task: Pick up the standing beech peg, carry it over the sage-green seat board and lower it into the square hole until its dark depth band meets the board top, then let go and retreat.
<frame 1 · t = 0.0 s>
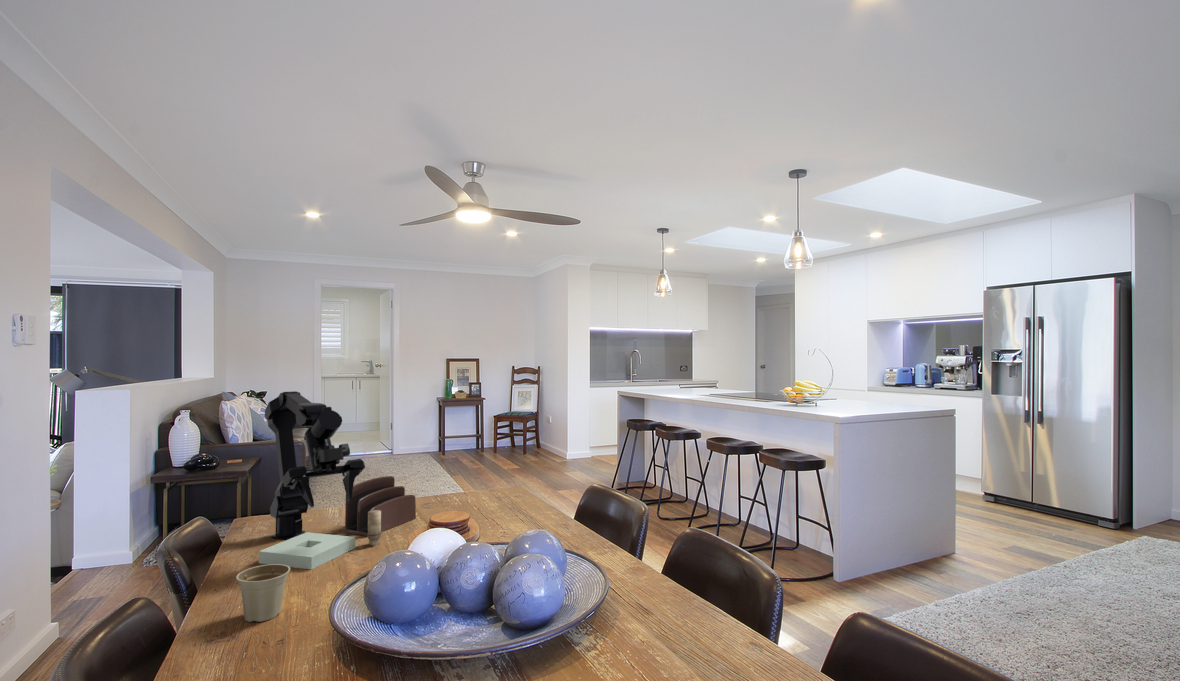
hand: (331, 503, 142), 15 cm above the table, tool tilted 35°, fingers open, 9 cm apart
peg: (374, 544, 156), on the table
flower pot: (263, 616, 112), on the table
seat board: (308, 555, 147), on the table
letter holder: (381, 526, 173), on the table
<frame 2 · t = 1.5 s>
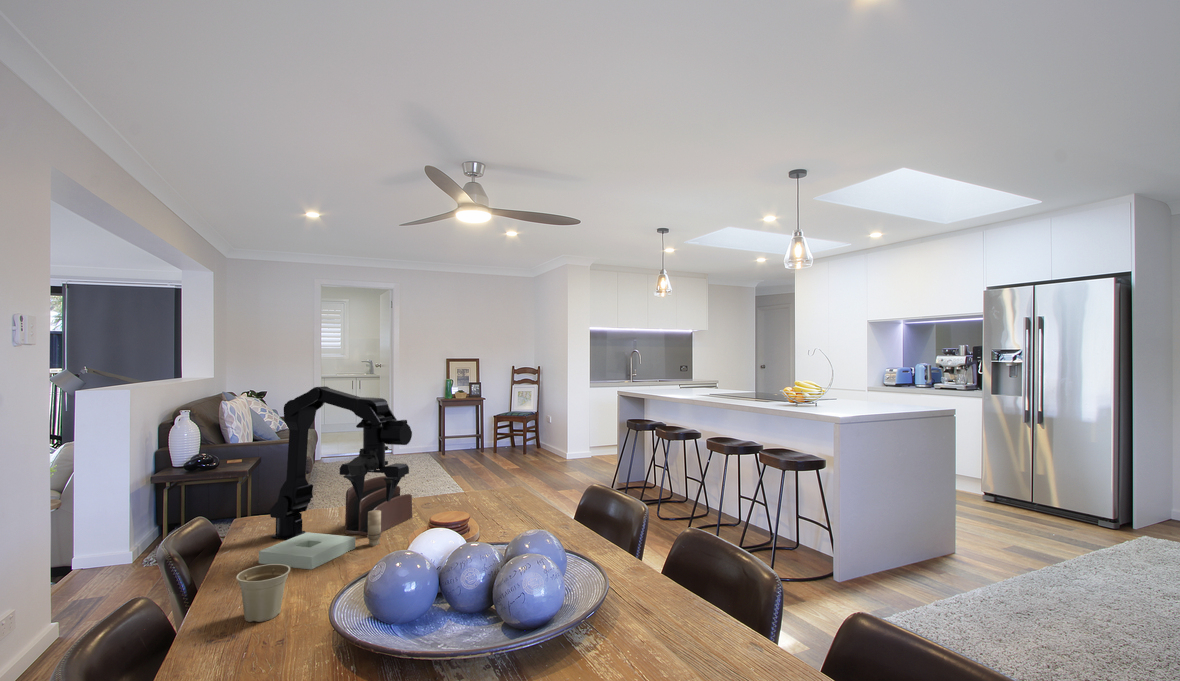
hand: (374, 500, 156), 12 cm above the table, tool pointing down, fingers open, 9 cm apart
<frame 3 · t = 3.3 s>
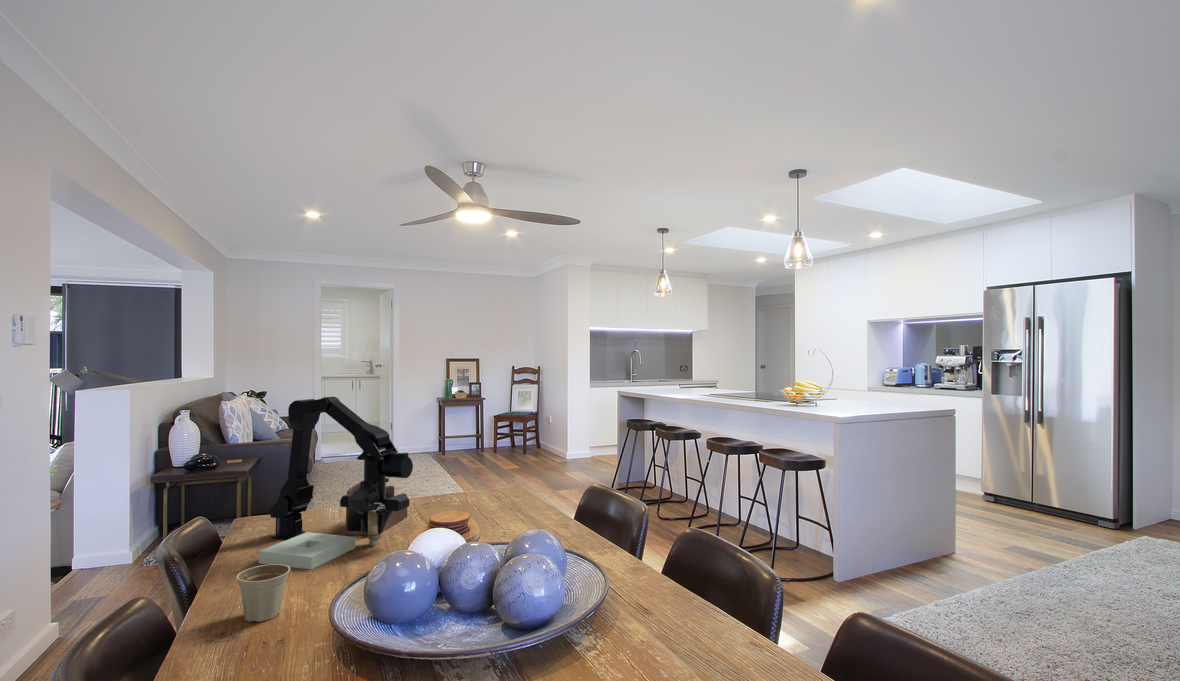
hand: (374, 532, 156), 3 cm above the table, tool pointing down, fingers closed on peg, 3 cm apart
peg: (374, 544, 156), on the table, touching gripper
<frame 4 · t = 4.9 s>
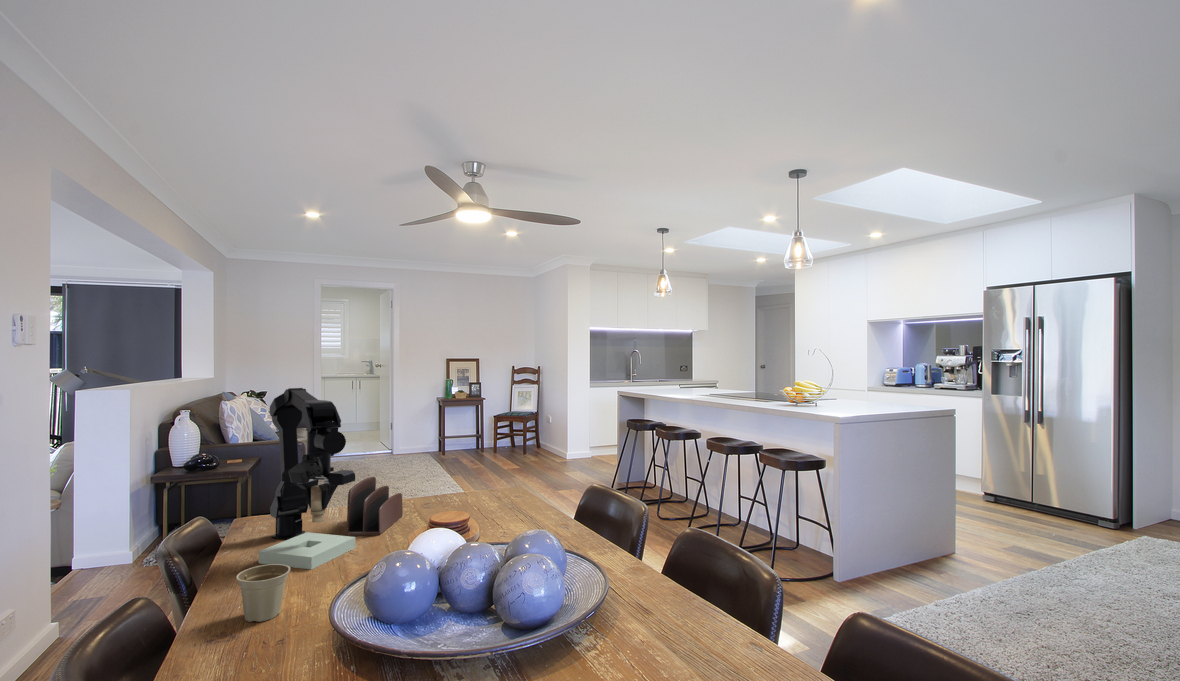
hand: (317, 508, 148), 12 cm above the table, tool pointing down, fingers closed on peg, 3 cm apart
peg: (317, 520, 148), point 9 cm above the table, touching gripper
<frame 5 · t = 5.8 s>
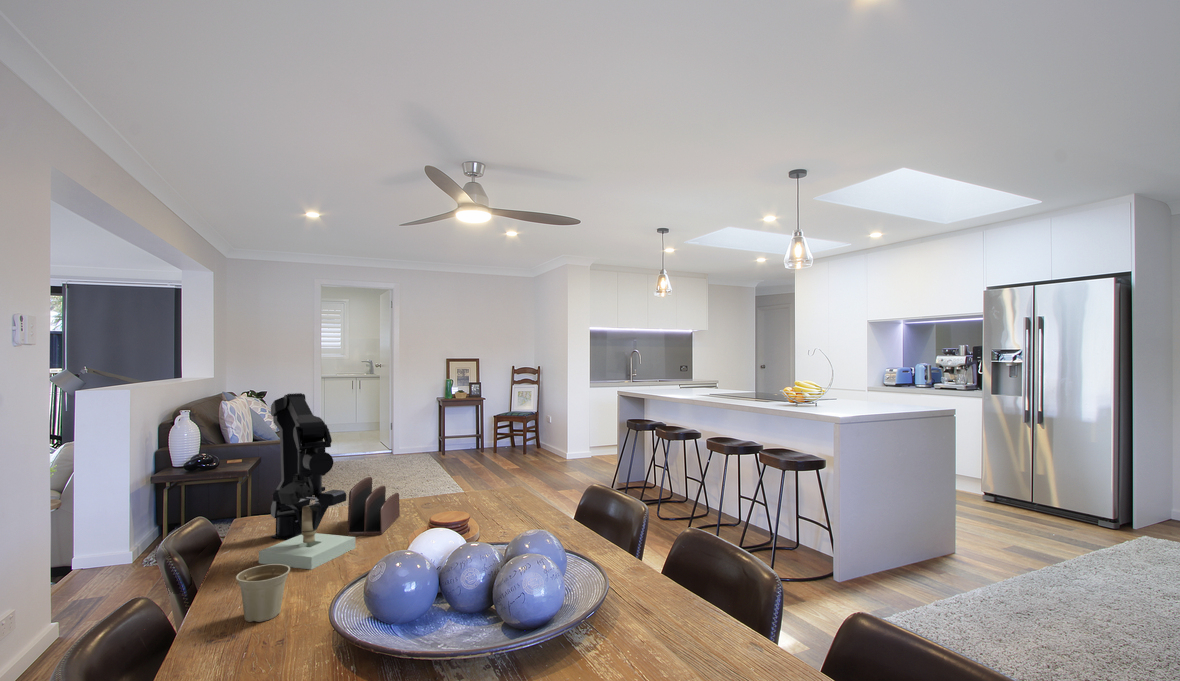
hand: (309, 528, 147), 7 cm above the table, tool pointing down, fingers closed on peg, 3 cm apart
peg: (308, 541, 147), point 4 cm above the table, touching gripper
when the fingers open (4 cm above the table, at t = 6.6 s): peg stays where it is, resting in seat board.
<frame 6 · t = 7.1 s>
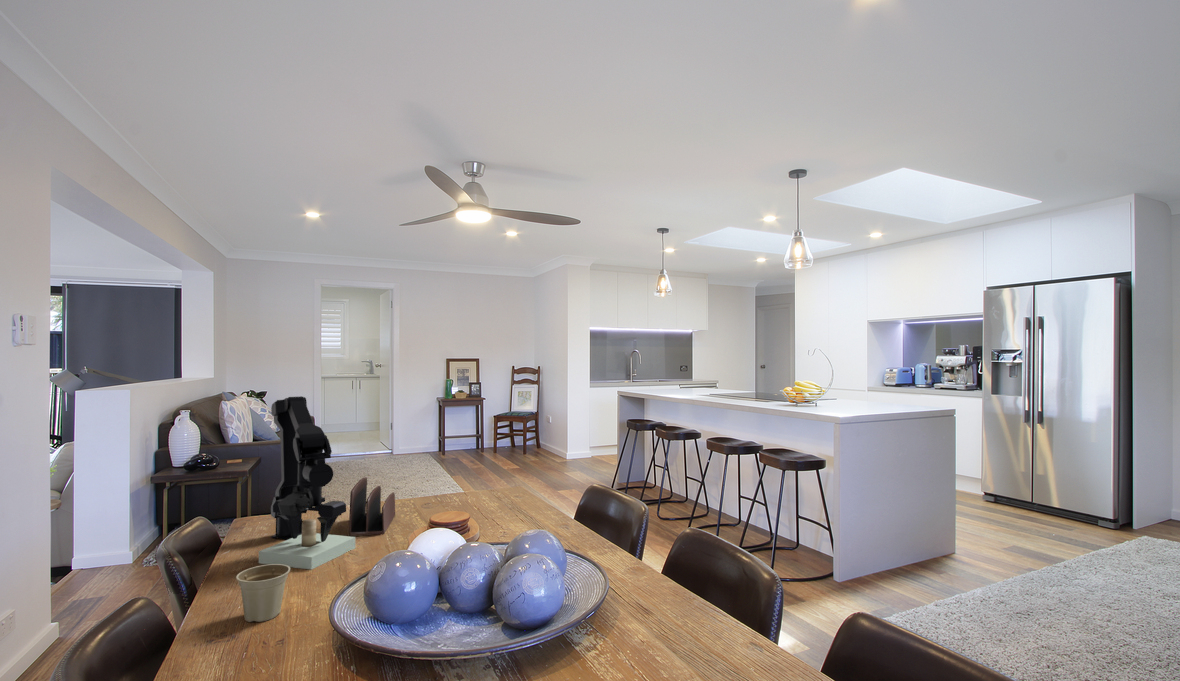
hand: (309, 539, 147), 4 cm above the table, tool pointing down, fingers open, 9 cm apart
peg: (308, 555, 147), resting in seat board
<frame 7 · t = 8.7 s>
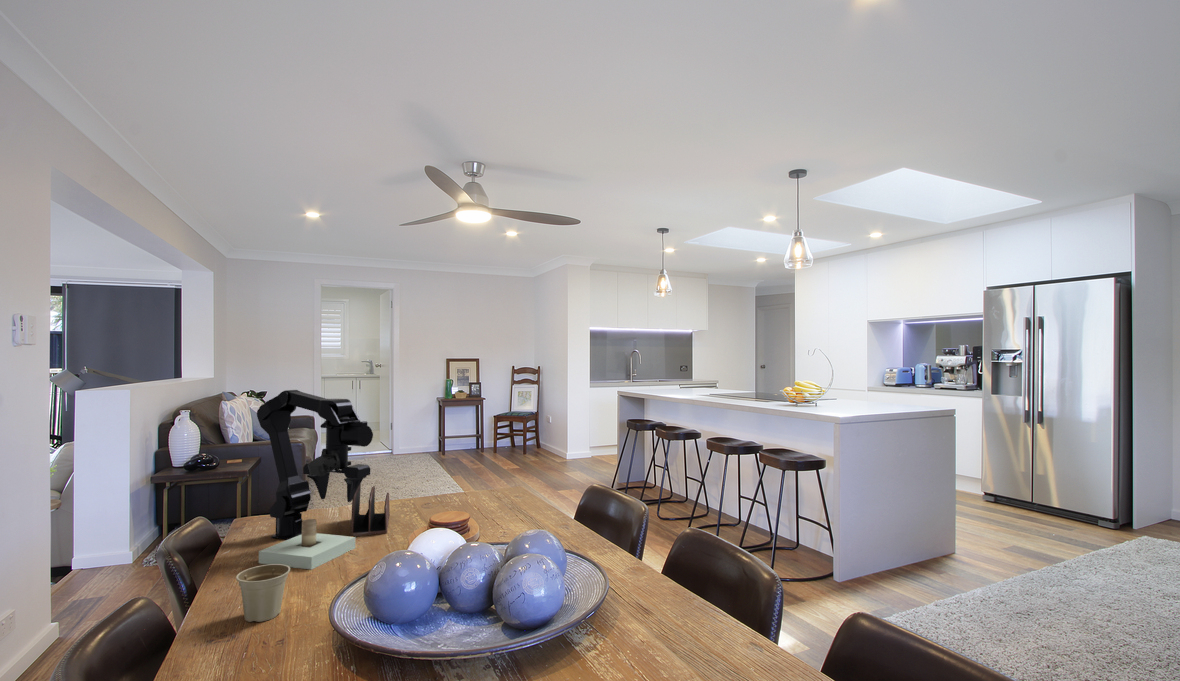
hand: (336, 500, 157), 12 cm above the table, tool pointing down, fingers open, 9 cm apart
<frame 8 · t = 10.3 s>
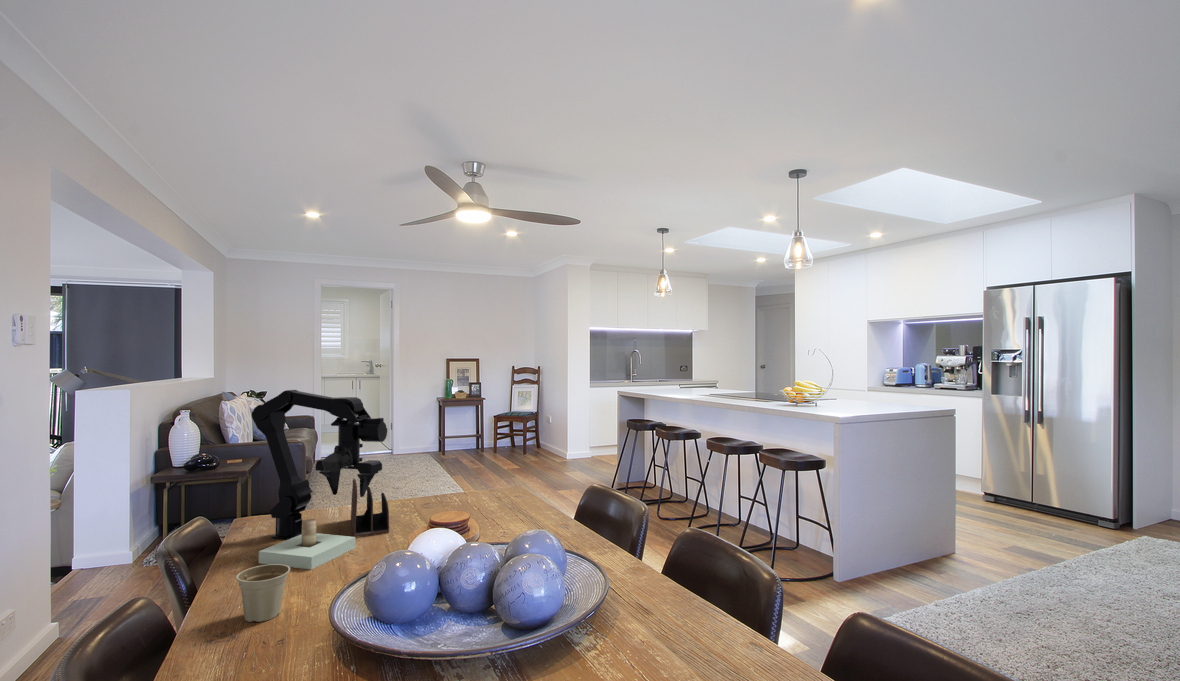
hand: (348, 495, 162), 12 cm above the table, tool pointing down, fingers open, 9 cm apart
at the end: peg 0.0 cm off-centre on the seat board, point 0.0 cm above the seat board's base; peg tilted 0°; the gripper is holding nothing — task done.
